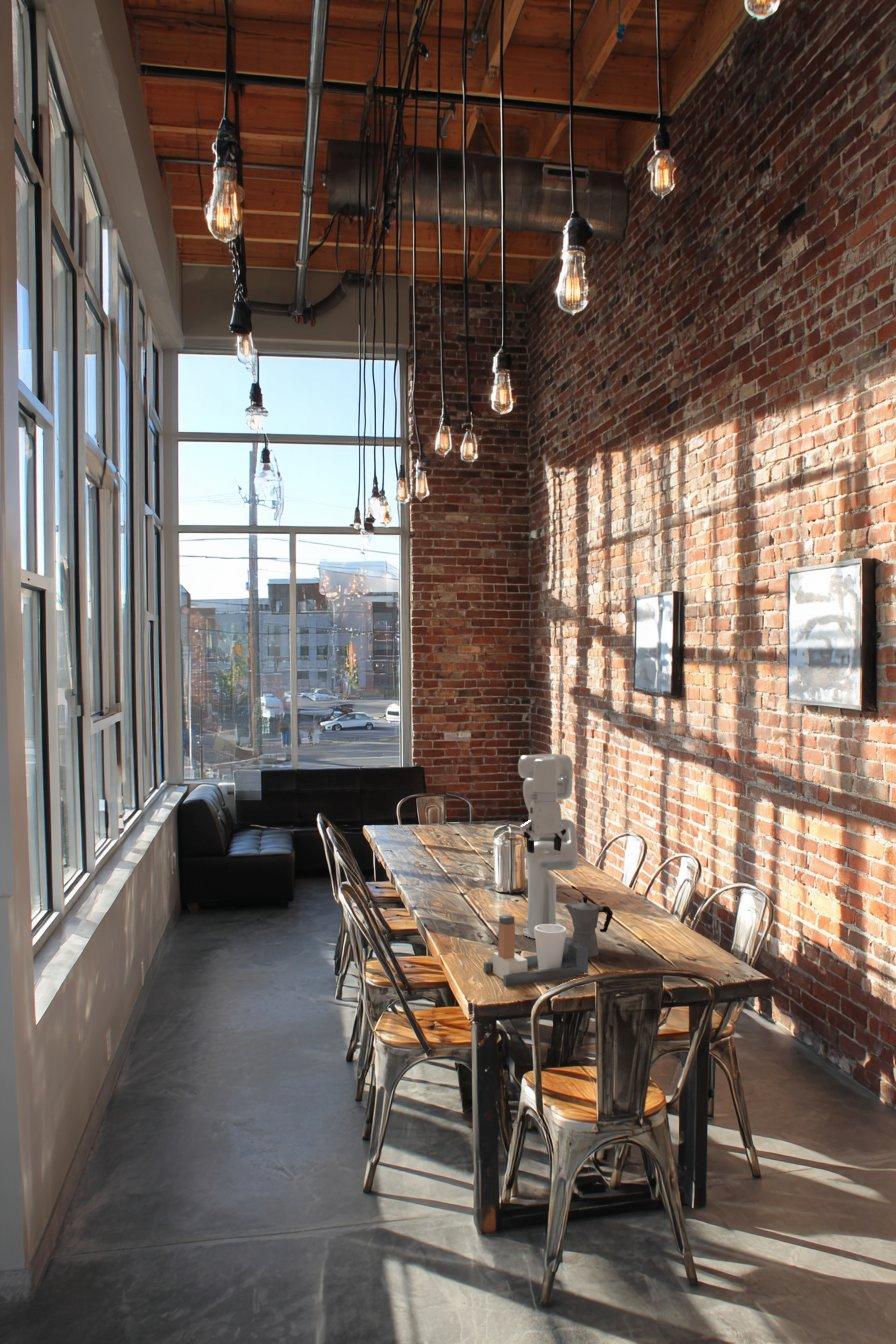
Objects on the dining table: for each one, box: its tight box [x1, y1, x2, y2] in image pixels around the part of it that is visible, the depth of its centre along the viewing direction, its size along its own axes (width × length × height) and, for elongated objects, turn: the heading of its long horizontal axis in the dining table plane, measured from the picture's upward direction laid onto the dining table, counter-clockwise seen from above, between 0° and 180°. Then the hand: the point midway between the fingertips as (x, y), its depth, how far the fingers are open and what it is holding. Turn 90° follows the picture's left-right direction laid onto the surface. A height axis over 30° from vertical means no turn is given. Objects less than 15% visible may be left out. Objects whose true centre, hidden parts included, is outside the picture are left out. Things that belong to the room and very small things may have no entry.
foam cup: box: [534, 924, 567, 970], centre depth 281 cm, size 10×9×13 cm
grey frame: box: [483, 935, 589, 987], centre depth 279 cm, size 14×28×8 cm, turn 115°
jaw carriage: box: [492, 914, 528, 980], centre depth 276 cm, size 10×6×18 cm, turn 25°
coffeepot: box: [564, 896, 614, 958], centre depth 300 cm, size 15×9×18 cm, turn 69°
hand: (544, 851), depth 300 cm, fingers open, 9 cm apart
